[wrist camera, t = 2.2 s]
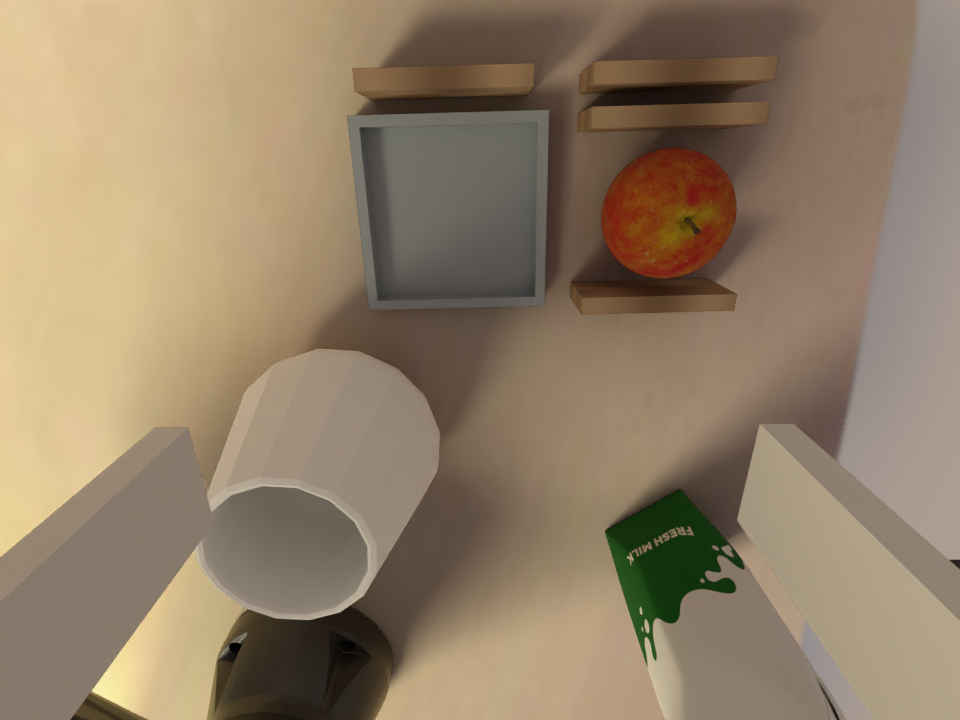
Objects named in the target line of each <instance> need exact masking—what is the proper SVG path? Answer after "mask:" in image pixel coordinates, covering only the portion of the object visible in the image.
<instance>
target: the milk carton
mask: <svg viewBox="0 0 960 720" xmlns="http://www.w3.org/2000/svg"><path fill="white" fill-rule="evenodd" d="M605 533H606V536H607V540H608V543H609V546H610V550H611V553H612V557H613V560H614V564H615V567H616V570H617V574H618V577H619V581H620V584H621V587H622V591H623V594H624V597H625V600H626V603H627V606H628V610H629V613H630V616H631V619H632V622H633V625H634V628H635V631H636V634H637V637H638V640H639V643H640V646H641V649H642V652H643V655H644V658H645V662H646V665H647V668H648V671H649V674H650V677H651V680H652V683H653V686H654V689H655V692H656V695H657V698H658V701H659V704H660V707H661V709H662V712H663V715H664V718H665V720H846V718H845V716H844V714H843V713H842V711H841V709H840V708H839V706H838V704H837V703H836V701H835V699H834V698H833V696H832V694H831V693H830V691H829V690H828V688H827V686H826V685H825V684H824V682H823V681H822V679H821V678H820V677H819V676H818V675H817V673H816V672H815V670H814V668H813V667H812V665H811V663H810V662H809V660H808V659H807V657H806V655H805V654H804V652H803V651H802V649H801V648H800V646H799V645H798V643H797V642H796V640H795V639H794V637H793V635H792V634H791V632H790V631H789V629H788V628H787V626H786V625H785V623H784V622H783V620H782V619H781V617H780V616H779V614H778V613H777V611H776V610H775V608H774V607H773V605H772V604H771V602H770V600H769V599H768V597H767V596H766V594H765V593H764V591H763V590H762V588H761V587H760V585H759V584H758V582H757V581H756V579H755V578H754V576H753V575H752V573H751V572H750V570H749V569H748V567H747V566H746V564H745V563H744V562H743V560H742V559H741V558H740V556H739V555H738V554H737V552H736V551H735V550H734V549H733V547H732V546H731V545H730V544H729V543H728V542H727V540H726V539H725V538H724V537H723V536H722V535H721V534H720V533H719V531H718V530H717V529H716V528H715V527H714V526H713V525H712V524H711V523H710V522H709V521H708V519H707V518H706V517H705V516H704V515H703V514H702V513H701V512H700V511H699V510H698V509H697V507H696V506H695V505H694V504H693V503H692V502H691V501H690V500H689V498H688V497H687V496H686V495H685V494H684V493H683V492H682V490H681V489H679V490H678V491H676V492H674V493H672V494H671V495H669V496H667V497H665V498H664V499H662V500H660V501H658V502H656V503H655V504H653V505H651V506H649V507H648V508H646V509H644V510H642V511H640V512H639V513H637V514H635V515H633V516H632V517H630V518H628V519H626V520H624V521H623V522H621V523H619V524H617V525H616V526H614V527H612V528H610V529H608V530H607V531H605Z"/></svg>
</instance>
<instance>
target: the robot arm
mask: <svg viewBox="0 0 960 720" xmlns="http://www.w3.org/2000/svg"><path fill="white" fill-rule="evenodd" d="M737 521H738V523H739V524H740V525H741V527H742V528H743V530H744V531H745V533H746V534H747V536H748V537H749V539H750V540H751V541H752V543H753V544H754V546H755V547H756V549H757V550H758V552H759V553H760V555H761V556H762V557H763V559H764V560H765V562H766V563H767V565H768V566H769V568H770V569H771V571H772V572H773V573H774V575H775V576H776V578H777V579H778V581H779V582H780V584H781V585H782V587H783V588H784V590H785V591H786V592H787V594H788V595H789V597H790V598H791V600H792V601H793V603H794V604H795V606H796V607H797V608H798V610H799V611H800V613H801V614H802V616H803V617H804V619H805V620H806V622H807V623H808V624H809V626H810V627H811V629H812V630H813V631H814V633H815V634H816V636H817V637H818V639H819V640H820V642H821V643H822V645H823V646H824V648H825V649H826V650H827V652H828V654H829V655H830V656H831V658H832V659H833V661H834V662H835V664H836V665H837V666H838V668H839V670H840V671H841V672H842V674H843V675H844V677H845V678H846V680H847V681H848V683H849V684H850V685H851V687H852V688H853V690H854V691H855V693H856V694H857V696H858V697H859V699H860V700H861V701H862V703H863V704H864V706H865V707H866V709H867V710H868V712H869V713H870V715H871V716H872V718H873V719H874V720H960V560H948V559H947V558H946V557H945V556H944V555H943V554H942V553H940V552H939V551H938V550H937V549H936V548H934V547H933V546H932V545H931V544H930V543H929V542H928V541H927V540H925V539H924V538H923V537H922V536H921V535H920V534H919V533H917V532H916V531H915V530H914V529H913V528H912V527H911V526H910V525H908V524H907V523H906V522H905V521H904V520H903V519H901V518H900V517H899V516H898V515H897V514H896V513H895V512H894V511H892V510H891V509H890V508H889V507H888V506H887V505H885V503H883V502H882V501H881V500H880V499H879V498H878V497H877V496H875V495H874V494H873V493H872V492H871V491H870V490H868V489H867V488H866V487H865V486H864V485H863V484H862V483H861V482H859V481H858V480H857V479H856V478H855V477H854V476H853V475H851V474H850V473H849V472H848V471H847V470H846V469H844V468H843V467H842V466H841V465H840V464H839V463H838V462H837V461H836V460H834V459H833V458H832V457H831V456H830V455H829V454H828V453H826V452H825V451H824V450H823V449H822V448H821V447H820V446H818V445H817V444H816V443H815V442H814V441H813V440H812V439H810V438H809V437H808V436H807V435H806V434H805V433H804V432H802V431H801V430H800V429H799V428H798V427H797V426H796V425H795V424H760V425H759V429H758V433H757V438H756V442H755V446H754V450H753V455H752V459H751V463H750V467H749V471H748V476H747V480H746V484H745V488H744V493H743V497H742V501H741V505H740V509H739V514H738V518H737ZM213 523H214V520H213V516H212V512H211V509H210V505H209V501H208V498H207V494H206V491H205V487H204V483H203V480H202V476H201V472H200V469H199V465H198V461H197V458H196V454H195V450H194V447H193V443H192V439H191V436H190V432H189V428H188V427H156V428H154V429H153V430H152V431H150V432H149V433H148V434H147V435H146V436H145V437H143V438H142V439H141V440H140V441H139V442H137V443H136V444H135V445H134V446H133V447H131V448H130V449H129V450H128V451H127V452H125V453H124V454H123V455H122V456H121V457H119V458H118V459H117V460H116V461H115V462H114V463H112V464H111V465H110V466H109V467H108V468H106V469H105V470H104V471H103V472H102V473H100V474H99V475H98V476H97V477H96V478H94V479H93V480H92V481H91V482H90V483H88V484H87V485H86V486H85V487H84V488H83V489H81V490H80V491H79V492H78V493H77V494H75V495H74V496H73V497H72V498H71V499H69V500H68V501H67V502H66V503H65V504H63V505H62V506H61V507H60V508H59V509H57V510H56V511H55V512H54V513H53V514H51V515H50V516H49V517H48V518H47V519H46V520H44V521H43V522H42V523H41V524H40V525H38V526H37V527H36V528H35V529H34V530H32V531H31V532H30V533H29V534H28V535H26V536H25V537H24V538H23V539H22V540H20V541H19V542H18V543H17V544H16V545H15V546H13V547H12V548H11V549H10V550H9V551H7V552H6V553H5V554H4V555H3V556H1V557H0V720H148V719H146V718H143V717H141V716H139V715H137V714H135V713H133V712H131V711H129V710H127V709H125V708H123V707H121V706H119V705H117V704H115V703H113V702H111V701H109V700H107V699H105V698H103V697H101V696H99V695H97V694H95V693H94V692H92V689H93V688H94V687H95V685H96V684H97V683H98V681H99V680H100V678H101V677H102V676H103V674H104V673H105V672H106V670H107V669H108V667H109V666H110V665H111V663H112V662H113V661H114V659H115V658H116V656H117V655H118V654H119V652H120V651H121V650H122V648H123V647H124V645H125V644H126V643H127V641H128V640H129V639H130V637H131V636H132V634H133V633H134V632H135V630H136V629H137V628H138V626H139V625H140V623H141V622H142V621H143V619H144V618H145V617H146V615H147V614H148V612H149V611H150V610H151V608H152V607H153V606H154V604H155V603H156V602H157V600H158V599H159V597H160V596H161V595H162V593H163V592H164V591H165V589H166V588H167V586H168V585H169V584H170V582H171V581H172V580H173V578H174V577H175V575H176V574H177V573H178V571H179V570H180V569H181V567H182V566H183V564H184V563H185V562H186V560H187V559H188V558H189V556H190V555H191V553H192V552H193V551H194V549H195V548H196V547H197V545H198V544H199V542H200V541H201V540H202V538H203V537H204V536H205V534H206V533H207V531H208V530H209V529H210V527H211V526H212V525H213ZM391 671H392V653H391V649H390V646H389V644H388V642H387V640H386V638H385V637H384V635H383V634H382V632H381V631H380V630H379V629H378V628H377V627H376V626H375V625H374V624H373V623H372V622H371V621H370V620H369V619H367V618H366V617H364V616H363V615H361V614H360V613H358V612H356V611H355V610H353V609H351V608H349V607H347V608H346V609H344V610H343V611H341V612H340V613H336V614H332V615H328V616H324V617H320V618H316V619H312V620H297V619H278V618H273V617H270V616H267V615H264V614H261V613H258V612H255V611H252V610H249V611H247V612H246V613H245V614H243V615H242V616H241V617H240V618H239V619H238V620H237V621H236V623H235V624H234V625H233V627H232V629H231V631H230V633H229V634H228V636H227V638H226V640H225V642H224V644H223V646H222V648H221V650H220V652H219V655H218V658H217V662H216V668H215V674H214V680H213V686H212V692H211V698H210V704H209V710H208V716H207V720H375V718H376V716H377V715H378V713H379V711H380V709H381V707H382V705H383V703H384V701H385V698H386V695H387V692H388V688H389V683H390V677H391Z"/></svg>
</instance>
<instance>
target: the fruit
mask: <svg viewBox="0 0 960 720" xmlns="http://www.w3.org/2000/svg"><path fill="white" fill-rule="evenodd" d="M735 218H736V197H735V192H734V189H733V186H732V183H731V181H730V179H729V177H728V175H727V174H726V173H725V171H724V170H723V169H722V167H721V166H720V165H718V164H717V163H716V162H715V161H714V160H713V159H711V158H709V157H708V156H706V155H704V154H702V153H700V152H697V151H694V150H690V149H684V148H665V149H660V150H655V151H652V152H650V153H647V154H644V155H643V156H641V157H639V158H637V159H635V160H634V161H633V162H631V163H630V164H628V165H627V166H626V167H625V168H624V169H623V170H622V171H621V172H620V173H619V174H618V175H617V177H616V178H615V179H614V181H613V182H612V184H611V186H610V188H609V189H608V191H607V194H606V196H605V199H604V203H603V207H602V215H601V224H602V231H603V235H604V239H605V241H606V244H607V246H608V248H609V249H610V251H611V253H612V254H613V256H614V257H615V258H616V259H617V260H618V261H619V262H620V263H621V264H622V265H624V266H625V267H626V268H628V269H629V270H631V271H633V272H635V273H637V274H640V275H643V276H647V277H652V278H674V277H679V276H683V275H686V274H689V273H691V272H693V271H695V270H697V269H699V268H701V267H702V266H704V265H705V264H707V263H708V262H709V261H710V260H711V259H713V258H714V257H715V256H716V255H717V253H718V252H719V251H720V250H721V248H722V247H723V245H724V244H725V242H726V240H727V239H728V237H729V235H730V233H731V231H732V229H733V226H734V223H735Z"/></svg>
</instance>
